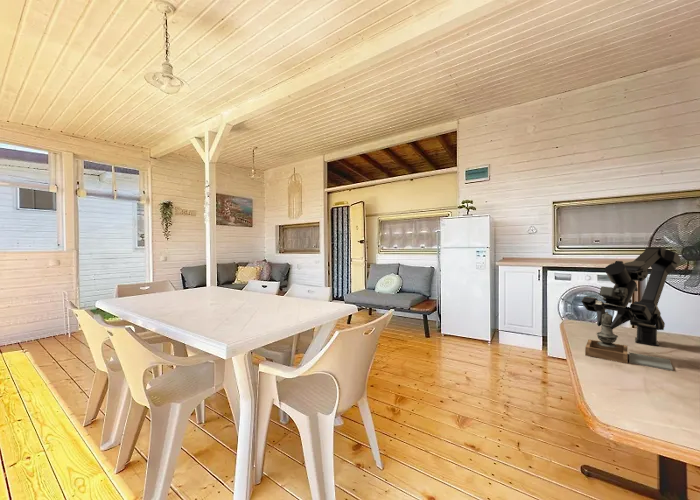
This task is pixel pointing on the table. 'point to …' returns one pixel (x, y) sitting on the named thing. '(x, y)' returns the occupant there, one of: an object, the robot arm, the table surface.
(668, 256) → the robot arm
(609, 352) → the walnut holder
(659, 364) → the grey rubber mat
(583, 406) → the table surface
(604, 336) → the grey tall flared piece
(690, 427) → the table surface
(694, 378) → the table surface
